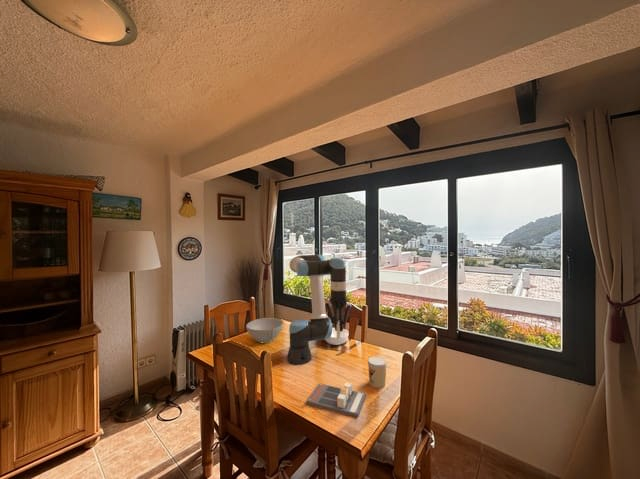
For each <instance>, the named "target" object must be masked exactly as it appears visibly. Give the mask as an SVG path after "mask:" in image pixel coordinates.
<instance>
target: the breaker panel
mask: <svg viewBox="0 0 640 479" xmlns="http://www.w3.org/2000/svg"><path fill="white" fill-rule="evenodd" d="M343 388H348V399H347V401H346V395H342V394H340V390H341V389H342V387H337V386H333V385H328V384H323V383H320V382H319V383H318V384H317V386H315V389H313V391H312V392H311V394H310V395H309V396H308V398H307V399H306V401H305V402H306V405H307V406H308V405H309V406H311V407H316V408H320V409H323V410H328V411H331V412H333V413H334V412H335V413H339V414H342V415H346V416H349V417H354V418H357V419H358V418H359V416H360V413H361V411H362V409H363V406H364V403H365V400H366V398H367V393H365V392H359V391H355V390H353V383H351V382H345V383H344V384H343Z"/></svg>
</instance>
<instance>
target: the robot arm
mask: <svg viewBox="0 0 640 479" xmlns="http://www.w3.org/2000/svg"><path fill="white" fill-rule="evenodd" d="M346 267H347V265H346V259H345V258H344V257H332V258H330V259H327V260H326V258H325V256H324V255H323V254H305V255H297V256H295V257H293V258H291V260H290V262H289V269H290V270H291V271H292V272H294V273H296V275H297V276H298V277H308V278H309V284H310V285H309V286H310V298H311V311H312V313H311V314H312V316H311V317H310V321H309V320H308V319H306V318H299V319H295V320H293V321H292V322H290V324H289V330H288V332H289V349H288V351H287V355H286V357H287V358H286V360H287V362H288V363H290V364H292V365H304V364H307V363H309V362H311V360H312V359H313V358H312V356H313V355H312V352H311V349H310V346H309V345H310V344H309V342H314V341H324V340H325V339H329V338H330V337H331V335H332V328H333V324H334V328H335V331H337V338H339V339H340V338H341V331H343V329H344V325H346V324H347V322H348V318H349V314H350V309H351V307H353V305H352V304H351V303H349V302H348V299H347V290H346V289H347V280H346V279H347V278H346V277H347V271H346V269H347V268H346ZM327 275H328V276H329V277H330V300H329V301H328V302H326V301H325V293H324V292H325V290H324V276H327ZM326 307H327V310H328V314H327V313H326ZM344 308H346V309H345V312H344ZM328 315H329V316H328Z"/></svg>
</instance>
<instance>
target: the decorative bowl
mask: <svg viewBox="0 0 640 479" xmlns="http://www.w3.org/2000/svg"><path fill="white" fill-rule="evenodd" d="M245 327H246V330H247V333H248V334H249V336H250V338H252V339H253V340H255V341H256V342H257V341H258V342H263V343H262V344H267V343H266V342H269V343H271V342H270V341H272V340H273V341H274V340H275V339H276V338H277V337H278V336H279V334H281V332H282V330H283V327H284V321H283V320H282V319H281V318H278V317H276V318H275V317H263V318H257V319H253V320H251V321H249V322H248V323H247V324H245ZM273 341H272V342H273ZM258 342H257V343H258Z"/></svg>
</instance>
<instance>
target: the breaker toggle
mask: <svg viewBox="0 0 640 479" xmlns="http://www.w3.org/2000/svg"><path fill="white" fill-rule="evenodd" d="M341 388H342V389H341V390H340V394H342V395H346V401H347V399H348V388H344V386H343V387H341Z"/></svg>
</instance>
